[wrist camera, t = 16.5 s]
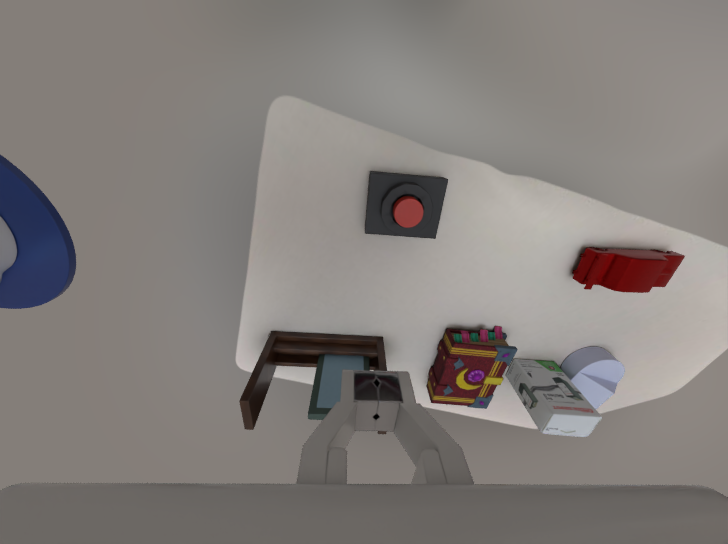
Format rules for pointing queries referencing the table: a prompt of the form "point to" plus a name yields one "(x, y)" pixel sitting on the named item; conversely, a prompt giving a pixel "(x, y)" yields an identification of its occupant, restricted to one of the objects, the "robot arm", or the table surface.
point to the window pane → (331, 381)
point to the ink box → (552, 398)
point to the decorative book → (469, 367)
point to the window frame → (302, 361)
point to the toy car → (626, 269)
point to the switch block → (392, 188)
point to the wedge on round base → (593, 373)
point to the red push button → (408, 211)
